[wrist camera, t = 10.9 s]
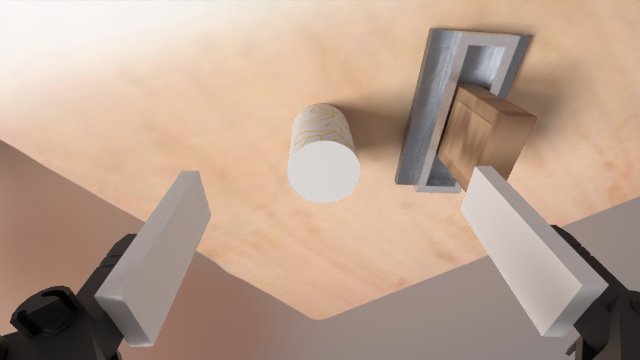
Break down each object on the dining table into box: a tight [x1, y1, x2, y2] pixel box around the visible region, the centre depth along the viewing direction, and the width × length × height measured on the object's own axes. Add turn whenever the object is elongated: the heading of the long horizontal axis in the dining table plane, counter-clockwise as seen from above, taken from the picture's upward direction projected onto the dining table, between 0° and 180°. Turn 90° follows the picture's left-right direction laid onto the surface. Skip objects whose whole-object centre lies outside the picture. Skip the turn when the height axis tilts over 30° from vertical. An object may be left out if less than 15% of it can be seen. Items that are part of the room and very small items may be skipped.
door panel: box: [436, 84, 537, 192], centre depth 36 cm, size 10×3×12 cm, turn 177°
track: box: [395, 29, 530, 193], centre depth 40 cm, size 22×12×3 cm, turn 177°
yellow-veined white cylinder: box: [287, 104, 361, 203], centre depth 37 cm, size 8×8×12 cm
